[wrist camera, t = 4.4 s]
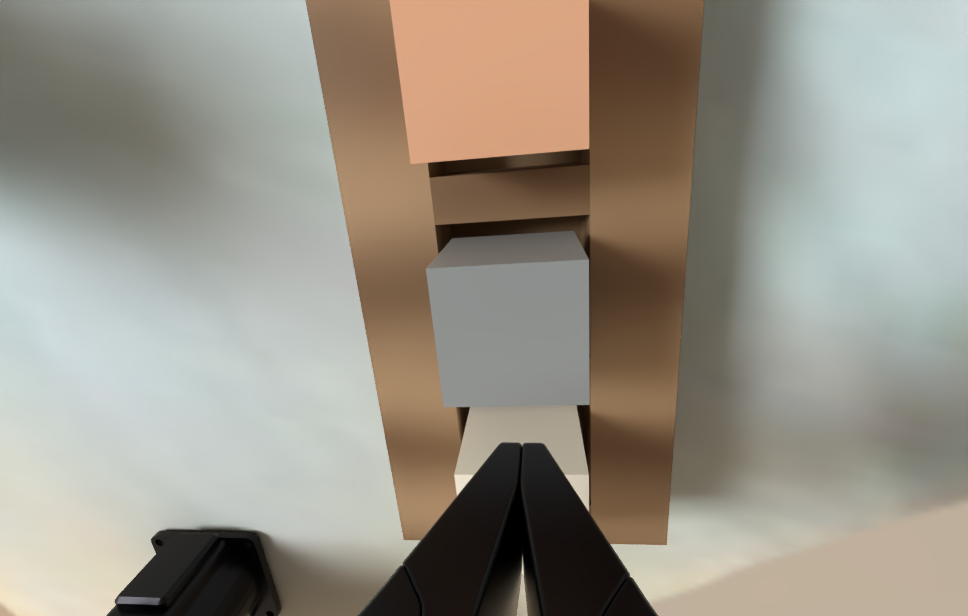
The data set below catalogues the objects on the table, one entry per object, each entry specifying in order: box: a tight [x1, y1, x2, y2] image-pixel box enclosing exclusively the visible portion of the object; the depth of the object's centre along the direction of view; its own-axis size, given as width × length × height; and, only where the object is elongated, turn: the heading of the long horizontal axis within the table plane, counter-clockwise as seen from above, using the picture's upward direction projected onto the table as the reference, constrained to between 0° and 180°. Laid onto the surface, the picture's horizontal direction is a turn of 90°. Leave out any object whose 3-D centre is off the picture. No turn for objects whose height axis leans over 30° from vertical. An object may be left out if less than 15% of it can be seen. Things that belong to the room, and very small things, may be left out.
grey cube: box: [426, 231, 590, 407], centre depth 13 cm, size 4×4×4 cm
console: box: [306, 0, 704, 545], centre depth 17 cm, size 22×11×4 cm, turn 5°
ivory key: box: [454, 405, 589, 575], centre depth 16 cm, size 4×4×4 cm
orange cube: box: [389, 0, 589, 164], centre depth 11 cm, size 4×4×4 cm
